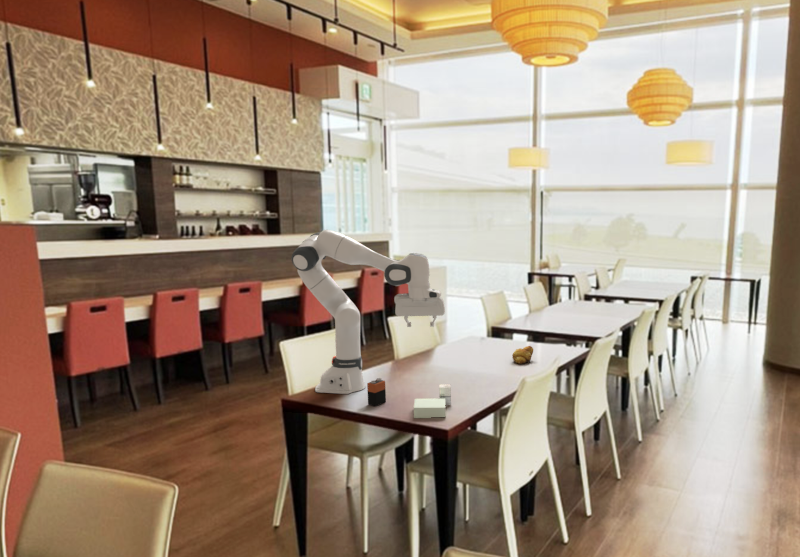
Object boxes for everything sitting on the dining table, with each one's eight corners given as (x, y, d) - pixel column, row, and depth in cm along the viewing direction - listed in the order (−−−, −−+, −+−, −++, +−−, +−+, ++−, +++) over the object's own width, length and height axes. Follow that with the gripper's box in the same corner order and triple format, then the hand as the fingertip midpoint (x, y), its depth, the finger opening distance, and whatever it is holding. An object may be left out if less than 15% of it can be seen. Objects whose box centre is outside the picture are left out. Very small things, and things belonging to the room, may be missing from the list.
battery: (386, 402, 228) (385, 378, 227) (375, 406, 223) (374, 382, 222) (378, 400, 231) (377, 377, 230) (367, 404, 226) (366, 380, 225)
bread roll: (525, 365, 279) (525, 350, 278) (507, 363, 285) (507, 348, 284) (534, 360, 290) (534, 345, 289) (517, 358, 295) (517, 343, 294)
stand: (413, 418, 208) (413, 407, 208) (415, 408, 219) (414, 398, 219) (445, 417, 208) (445, 407, 207) (445, 408, 218) (445, 398, 218)
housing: (439, 405, 222) (439, 387, 221) (439, 402, 226) (439, 384, 226) (451, 405, 221) (450, 387, 221) (450, 402, 226) (450, 384, 225)
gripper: (392, 294, 223) (394, 328, 224) (443, 293, 220) (444, 327, 221) (395, 292, 229) (396, 325, 231) (444, 291, 226) (445, 324, 228)
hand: (420, 326), depth 226 cm, fingers open, 8 cm apart
